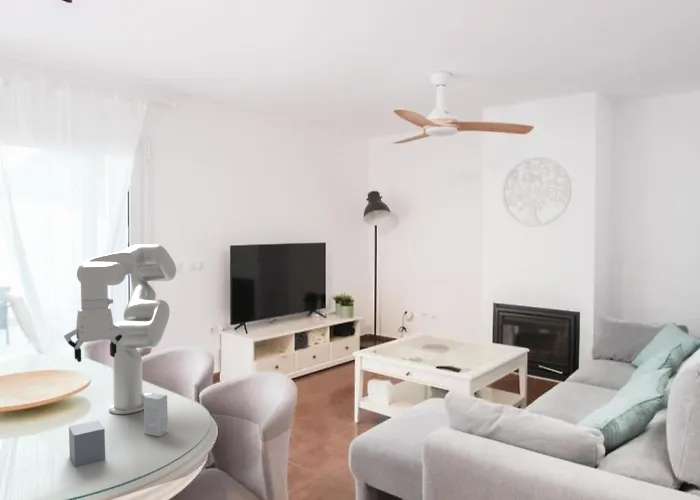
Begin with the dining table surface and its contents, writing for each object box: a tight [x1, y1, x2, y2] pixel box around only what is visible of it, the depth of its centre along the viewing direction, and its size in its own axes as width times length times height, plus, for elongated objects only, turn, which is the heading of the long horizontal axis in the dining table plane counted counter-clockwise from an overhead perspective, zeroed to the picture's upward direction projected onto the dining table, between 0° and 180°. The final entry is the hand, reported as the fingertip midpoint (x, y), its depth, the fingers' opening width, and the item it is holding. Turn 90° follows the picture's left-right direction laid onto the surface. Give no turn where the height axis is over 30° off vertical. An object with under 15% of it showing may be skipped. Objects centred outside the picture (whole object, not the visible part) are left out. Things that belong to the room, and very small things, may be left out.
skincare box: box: [143, 392, 169, 437], centre depth 166 cm, size 6×4×12 cm
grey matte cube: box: [68, 420, 106, 468], centre depth 148 cm, size 8×8×9 cm
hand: (96, 358), depth 163 cm, fingers open, 9 cm apart
